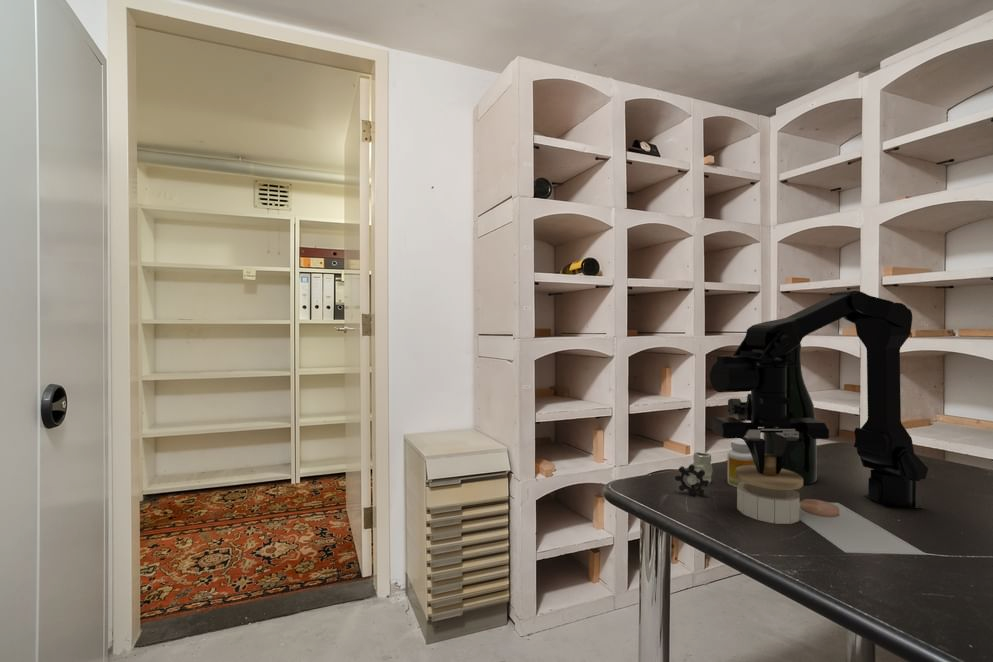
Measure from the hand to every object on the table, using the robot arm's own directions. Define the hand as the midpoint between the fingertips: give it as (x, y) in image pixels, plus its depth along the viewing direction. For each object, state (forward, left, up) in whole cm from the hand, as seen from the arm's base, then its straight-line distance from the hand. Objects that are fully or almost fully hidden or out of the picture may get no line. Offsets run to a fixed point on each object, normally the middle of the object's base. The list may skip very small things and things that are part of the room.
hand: (768, 473), depth 86 cm
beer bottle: (-15, -20, -8) cm, 26 cm away
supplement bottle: (-2, -15, -8) cm, 17 cm away
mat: (-10, +5, -8) cm, 14 cm away
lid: (0, 0, -1) cm, 1 cm away
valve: (+8, -13, -8) cm, 17 cm away
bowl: (0, 0, -8) cm, 8 cm away
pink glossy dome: (-10, -1, -7) cm, 12 cm away
